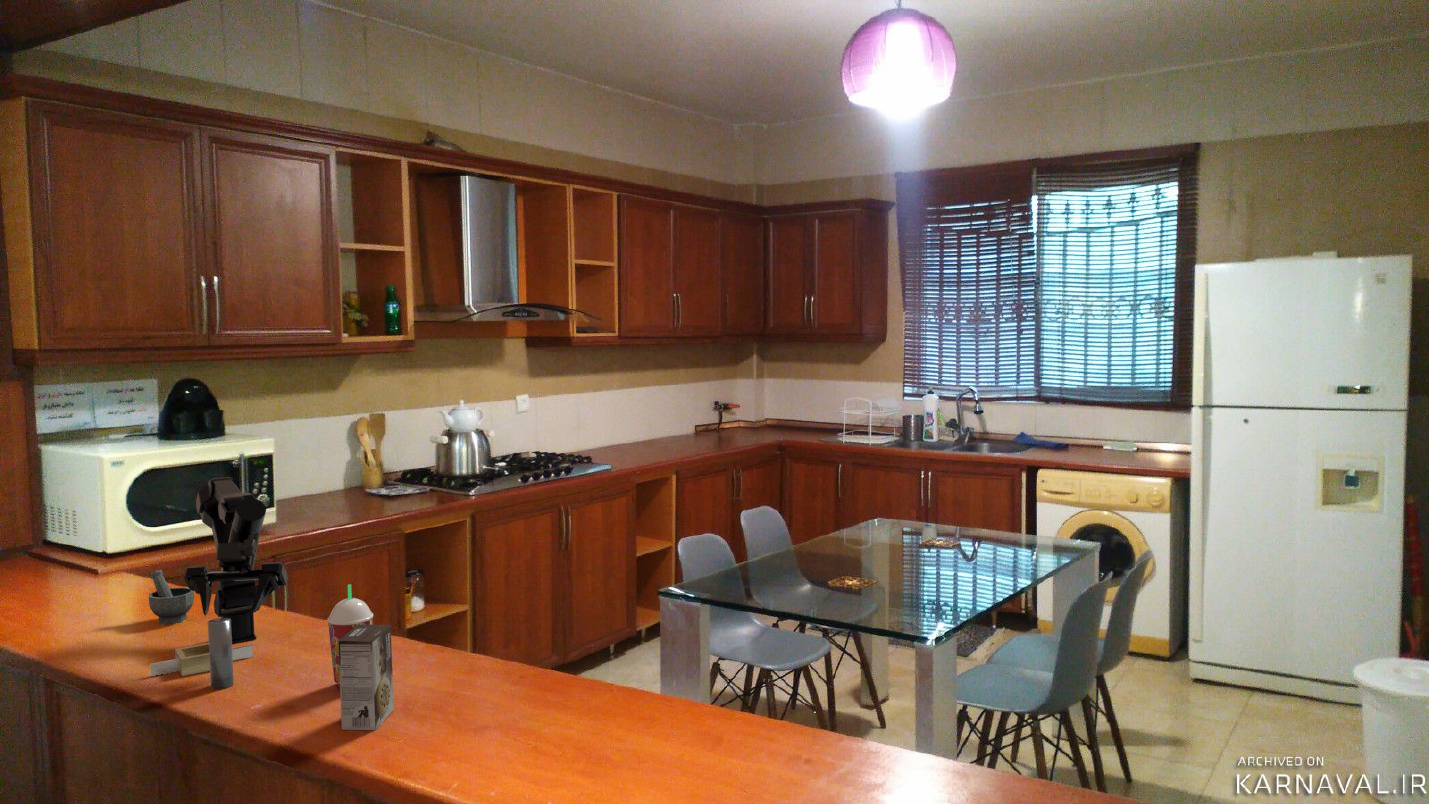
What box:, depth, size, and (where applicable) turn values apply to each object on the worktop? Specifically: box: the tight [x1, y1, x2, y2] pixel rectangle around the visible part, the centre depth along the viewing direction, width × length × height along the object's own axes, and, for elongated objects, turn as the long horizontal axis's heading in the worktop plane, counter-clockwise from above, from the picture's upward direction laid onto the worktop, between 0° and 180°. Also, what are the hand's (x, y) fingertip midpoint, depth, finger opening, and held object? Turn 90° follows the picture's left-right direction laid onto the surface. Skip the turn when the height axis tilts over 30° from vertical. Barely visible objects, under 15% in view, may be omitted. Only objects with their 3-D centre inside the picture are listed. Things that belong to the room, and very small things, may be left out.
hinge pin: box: [207, 617, 235, 690], centre depth 191 cm, size 4×4×13 cm
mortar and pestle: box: [148, 569, 195, 626], centre depth 233 cm, size 11×9×12 cm
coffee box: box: [338, 624, 395, 731], centre depth 173 cm, size 9×6×16 cm
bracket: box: [149, 642, 254, 677], centre depth 202 cm, size 19×8×4 cm, turn 127°
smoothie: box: [327, 584, 374, 689], centre depth 190 cm, size 8×8×20 cm
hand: (229, 613), depth 196 cm, fingers open, 9 cm apart
